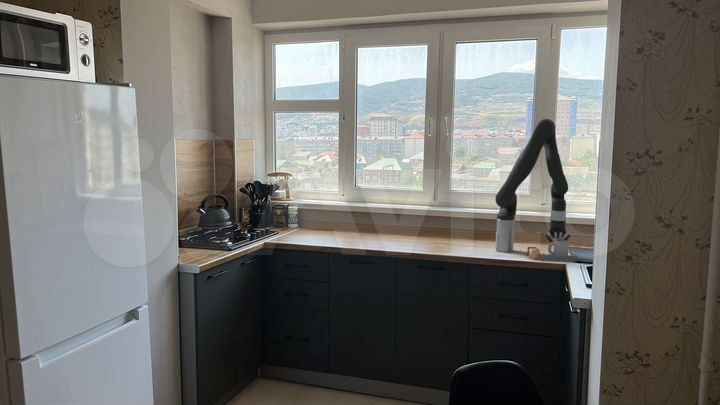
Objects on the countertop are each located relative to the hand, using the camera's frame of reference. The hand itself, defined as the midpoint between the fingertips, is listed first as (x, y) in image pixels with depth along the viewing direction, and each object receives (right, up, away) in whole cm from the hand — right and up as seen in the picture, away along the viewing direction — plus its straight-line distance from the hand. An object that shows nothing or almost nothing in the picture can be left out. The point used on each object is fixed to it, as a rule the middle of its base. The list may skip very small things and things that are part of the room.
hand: (556, 251), depth 276 cm
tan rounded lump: (-14, -3, -7) cm, 16 cm away
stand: (-3, -3, -11) cm, 12 cm away
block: (-12, -2, +2) cm, 12 cm away
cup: (-1, -3, -4) cm, 5 cm away
